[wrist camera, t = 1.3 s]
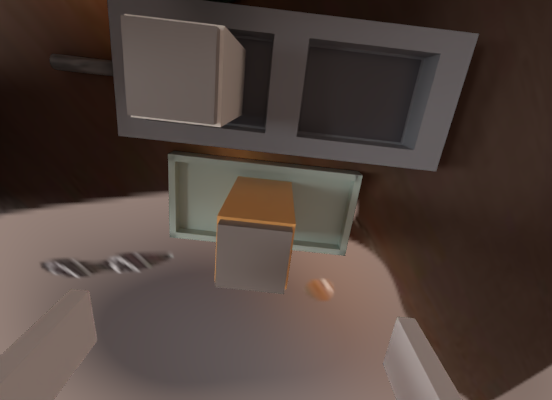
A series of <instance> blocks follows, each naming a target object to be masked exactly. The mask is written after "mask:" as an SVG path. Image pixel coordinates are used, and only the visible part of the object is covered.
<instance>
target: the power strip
mask: <svg viewBox="0 0 552 400" xmlns="http://www.w3.org/2000/svg"><path fill="white" fill-rule="evenodd" d="M107 3H108V15H109V27H110V40H111V52H112V60H104V59H95V58H87V57H78V56H70V55H61V54H51V55H50V64H51V66H52V67H53V68H54V69H55V70H63V71H71V72H80V73H89V74H97V75H106V76H113V77H114V89H115V101H116V113H117V126H118V136H124V137H133V138H142V139H151V140H160V141H169V142H178V143H187V144H196V145H205V146H214V147H222V148H231V149H240V150H249V151H258V152H267V153H276V154H285V155H294V156H303V157H312V158H321V159H330V160H338V161H347V162H356V163H365V164H374V165H383V166H392V167H401V168H410V169H419V170H428V171H436V170H437V167H438V164H439V160H440V157H441V154H442V151H443V148H444V144H445V141H446V138H447V135H448V132H449V128H450V125H451V122H452V119H453V116H454V112H455V109H456V106H457V103H458V100H459V96H460V93H461V90H462V87H463V84H464V80H465V77H466V74H467V71H468V68H469V64H470V61H471V58H472V55H473V51H474V48H475V45H476V42H477V39H478V35H479V34H477V33H469V32H460V31H452V30H444V29H436V28H427V27H419V26H411V25H403V24H394V23H386V22H378V21H370V20H361V19H353V18H345V17H337V16H328V15H320V14H312V13H304V12H295V11H287V10H279V9H271V8H263V7H254V6H246V5H238V4H230V3H221V2H213V1H205V0H107ZM124 14H131V15H140V16H148V17H156V18H165V19H173V20H181V21H190V22H198V23H206V24H215V25H223V26H225V27H226V28H227V29H228V30H229V31H230V32H231V34H232V35H233V36H234V37H235V38H236V39H237V40H238V42H239V43H240V44H241V45H242V46H243V47H244V48H245V50H246V59H245V74H244V90H243V105H242V115H241V116H239V117H237V118H236V119H234V120H232V121H230V122H229V123H227V124H225V125H224V126H222V127H214V126H205V125H196V124H187V123H178V122H169V121H161V120H152V119H143V118H134V117H131V115H127V104H126V90H125V75H124V61H123V46H122V32H121V18H120V15H124Z"/></svg>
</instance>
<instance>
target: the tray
mask: <svg viewBox="0 0 552 400" xmlns="http://www.w3.org/2000/svg"><path fill="white" fill-rule="evenodd" d="M238 176H242V177H251V178H260V179H269V180H278V181H287V182H292V191H293V201H294V211H295V221H296V227H295V233H294V240H293V247H292V250H296V251H305V252H314V253H324V254H334V255H343V256H345V253H346V249H347V244H348V240H349V235H350V231H351V226H352V222H353V217H354V213H355V208H356V204H357V199H358V195H359V190H360V186H361V181H362V177H363V175H362V174H361V173H360V172H359V171H352V170H343V169H334V168H325V167H316V166H307V165H298V164H289V163H280V162H271V161H262V160H253V159H244V158H235V157H226V156H217V155H208V154H199V153H190V152H181V151H172V152H171V153H169V154H168V181H169V222H170V223H169V225H170V237H173V238H182V239H192V240H201V241H212V242H216V232H217V215H218V213H219V211H220V210H221V208H222V206H223V204H224V202H225V200H226V198H227V196H228V194H229V192H230V190H231V189H232V187H233V185H234V183H235V181H236V179H237V177H238Z"/></svg>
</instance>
